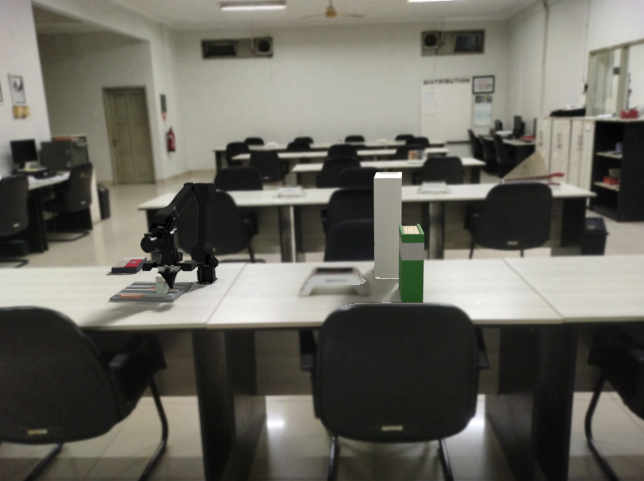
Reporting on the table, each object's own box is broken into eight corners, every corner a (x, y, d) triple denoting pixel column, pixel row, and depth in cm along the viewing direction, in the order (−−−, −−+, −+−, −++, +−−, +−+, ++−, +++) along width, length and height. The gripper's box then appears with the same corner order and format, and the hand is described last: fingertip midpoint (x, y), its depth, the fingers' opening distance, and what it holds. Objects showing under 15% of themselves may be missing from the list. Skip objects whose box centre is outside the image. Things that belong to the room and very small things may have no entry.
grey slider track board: (193, 285, 208) (193, 280, 207) (173, 302, 188) (172, 296, 188) (135, 284, 211) (135, 279, 210) (109, 301, 192) (109, 295, 191)
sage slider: (168, 291, 195) (167, 281, 194) (164, 294, 192) (163, 284, 191) (160, 291, 196) (159, 280, 195) (156, 294, 192) (155, 283, 191)
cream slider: (167, 283, 204) (166, 273, 204) (163, 286, 201) (162, 276, 200) (160, 283, 205) (159, 273, 204) (156, 286, 201) (155, 276, 201)
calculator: (110, 266, 225) (122, 256, 240) (111, 276, 227) (123, 265, 241) (136, 266, 226) (146, 255, 240) (137, 275, 227) (147, 264, 241)
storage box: (400, 279, 207) (401, 177, 198) (374, 279, 209) (373, 177, 200) (401, 265, 228) (401, 172, 219) (376, 264, 229) (376, 172, 220)
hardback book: (398, 286, 199) (398, 224, 194) (418, 286, 198) (419, 223, 193) (401, 302, 182) (401, 234, 177) (423, 302, 181) (424, 234, 176)
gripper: (200, 241, 196) (203, 281, 199) (152, 241, 198) (156, 281, 202) (189, 248, 185) (193, 291, 189) (138, 248, 187) (143, 290, 191)
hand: (171, 288), depth 193 cm, fingers closed
